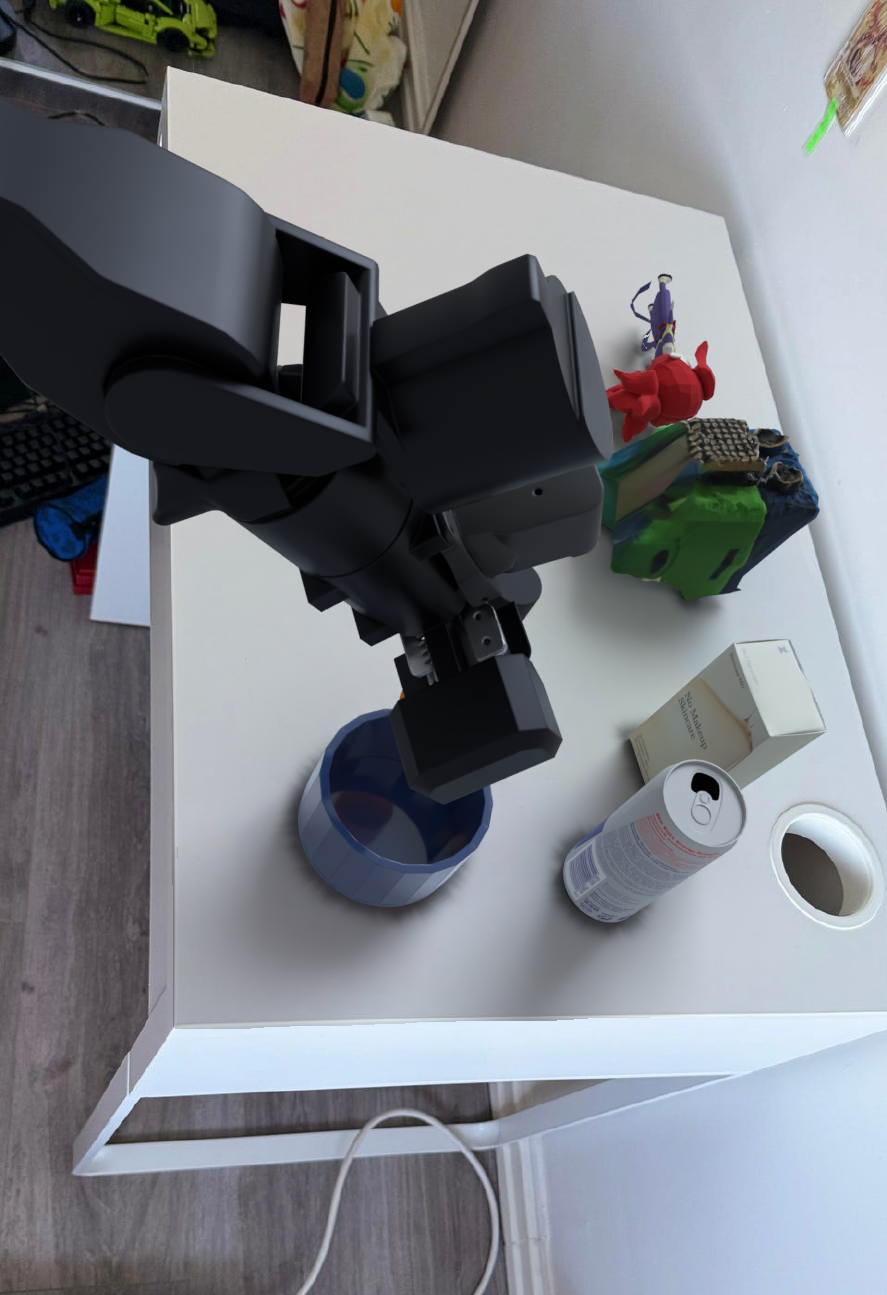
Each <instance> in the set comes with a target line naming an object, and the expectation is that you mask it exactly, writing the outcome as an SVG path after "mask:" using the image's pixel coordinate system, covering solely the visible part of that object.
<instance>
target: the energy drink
mask: <svg viewBox="0 0 887 1295" xmlns="http://www.w3.org/2000/svg"><path fill="white" fill-rule="evenodd" d="M748 814H749V812H748V806H747V801H746V799H745V795H744V794H743V792H742V790H740V788H739V786H738V785H737V783H736V782H735V781H734V779H733V778H732V777H731V776H730V775H729V774H728V773H727V772H725V771H724V770H723V769H721V768H720V767H718V766H716V765H714V764H712V763H710V762H707V761H704V760H697V759H693V760H686V761H683V762H680V763H677V764H674V765H670V766H669V767H667V768H665V769H664V770H662V771H661V772H660V773H659V774H658V775H657V776H655V777H654V778H653V779H652V780H651V781H650V782H648V783H647V784H646V785H645V784H644V786H642V787H641V788H640V789H639V790H638V791H637V792H635V794H633V795H632V796H631V797H629V799H628V800H626V801H625V802H624V803H623V804H621V805H620V806H619V807H618V808H617V809H616V810H614V811H613V812H612V813H611V814H610V815H609V816H607V818H605V819H604V820H603V821H602V822H600V824H599V825H597V826H596V827H595V828H594V829H592V830H591V831H590V832H589V833H587V835H585V836H584V837H583V838H582V839H580V840H579V842H578V843H576V844H575V845H574V846H573V847H572V848H571V849H570V850H569V852H568V853H567V855H566V856H565V859H564V863H563V868H562V869H563V870H562V876H563V883H564V887H565V889H566V890H565V891H567V894H568V896H569V898H570V899H571V901H572V902H573V904H574V905H575V906H576V907H577V908H578V909H579V911H582V912H583V913H584V914H585V915H587V916H588V917H590V918H592V919H594V920H596V921H600V922H603V923H619V922H622V921H624V920H627V919H629V918H630V917H632V916H634V914H636V913H638V912H640V911H641V910H642V909H644V908H645V907H647V906H648V905H650V904H651V903H653V902H654V901H656V900H658V899H659V898H660V897H662V896H663V895H665V894H666V893H668V892H670V891H671V890H672V889H674V888H676V887H677V886H678V885H680V884H681V883H683V882H685V881H686V880H687V879H689V878H690V877H692V876H693V875H695V874H697V873H698V872H699V871H701V870H702V869H704V868H706V867H707V866H709V865H710V864H711V863H712V862H714V861H716V860H717V859H719V858H721V857H722V856H724V855H725V854H726V853H728V852H729V851H731V850H732V849H733V848H734V847H735V845H736V844H738V841H739V839H740V838H741V836H742V835H743V834H744V832H745V831H746V828H747V823H748V818H749V817H748Z"/></svg>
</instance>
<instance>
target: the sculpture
mask: <svg viewBox="0 0 887 1295" xmlns="http://www.w3.org/2000/svg"><path fill="white" fill-rule="evenodd" d="M789 439H790V436H789V435H787V434H782V432H781V431H780V430H778V429H776V428H762V427H757V428H750V427H749V424H748V420H745V419H741V418H739V419H736V418H734V417H732V418H731V417H729V418H727V417H725V418H722V417H717V418H715V417H705V418H702V417H701V418H700V417H696V416H694V417H693V418H691V419H688V420H687V421H686V420H681V421H679V422H677V423H675V424H670V425H668V426H660V427H658V428H655V429H654V430H652V432H651V433H650V434H648V435H647V436H646V437H644V438H642V439H639V440H637V441H636V442H633V443H632V444H629V445H627V446H625V447H623V448H621V449H619V450H617V451H615V452H613V453H612V457H611V458H610V460H608V461H605V462H602V463H599V464H596V467H597V469H598V472H599V474H600V477H601V480H602V482H603V485H604V500H603V511H602V521H601V525H602V524H603V525H604V526H605V527H607V528H608V529H609V530H611V531H612V532H613V538H612V547H611V558H610V564H609V570H610V571H612V573H614V575H627V576H629V577H633V578H635V579H638V580H642V581H644V582H652V581H654V582H657V583H663V582H666V583H667V584H668V585H669V586H670V587H671V588H674V589H676V590H678V591H679V593H680V594H681V596H682V597H683V598H684V600H686V601H687V602H688V601H691V600H695V599H701V598H707V597H714V596H721V595H728V594H731V593H736V592H740V591H742V589H741V588H739V587H738V586H739V585H740V583H741V581H742V579H743V578H744V577H745V575H747V574H748V573H749V572H751V570H753V569H754V568H755V567H756V566H757V565H759V564H760V563H761V562H763V560H764V559H766V558H767V557H769V556H770V555H771V554H772V553H773V552H774V551H775V550H777V549H778V548H780V546H781V545H783V544H784V543H785V542H786V541H788V539H789V538H791V537H792V536H793V535H795V534H796V533H797V532H799V531H800V530H802V529H803V528H805V527H806V526H807V525H809V524H810V523H812V522H813V521H814V520H815V519H817V517H818V515H819V514H820V510H821V509H820V507H819V501H820V497H819V494H818V492H817V491H816V489H815V488H814V485H813V483H812V481H811V479H810V478H809V477H808V475H807V473H806V469H805V468H804V467H803V465H802V464H801V462H800V459H799V456H800V454H799V453H798V452H796V451H795V450H794V448H793V446H792V445H791V443H790V441H789Z"/></svg>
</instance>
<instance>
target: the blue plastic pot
mask: <svg viewBox="0 0 887 1295" xmlns="http://www.w3.org/2000/svg"><path fill="white" fill-rule="evenodd" d="M392 709H393V708H382V709H377V710H373V711H370V712H366V713H362V714H359V715H358V716H356V717H355V718H353V719H352V720H350V721H349V722H347V723H345V725H343V726H342V727H340V728H339V729H338V731H337V732H336V733H335V735H334V736H333V738H332V739H331V740H330V742H329V743H328V744H327V746H326V747H325V749H324V751H323V753H322V754H321V757H320V759H319V760H318V762H317V764H316V766H315V767H314V769H313V772H312V774H311V775H310V776H309V777H310V778H309V779H308V780H307V783H306V785H305V786H304V790H303V793H302V796H301V799H300V801H299V806H298V811H297V829H298V837H299V840H300V844H301V847H302V850H303V852H304V854H305V857H306V858H307V860H308V862H309V864H310V865H311V867H312V868H313V869H314V871H315V872H316V873H317V875H318V876H319V877H320V878H321V879H322V881H324V882H325V883H326V884H327V885H329V886H330V887H331V889H333V890H334V891H337V892H338V893H339V894H340V895H342V896H345V897H347V898H348V899H350V900H352V901H354V902H358V903H360V904H363V905H367V906H372V907H381V908H396V907H401V906H402V907H403V906H407V905H410V904H413V903H416V902H419V901H421V900H423V899H425V898H426V897H428V896H430V895H431V894H432V893H434V892H435V891H436V890H437V889H439V888H440V887H441V886H442V885H443V884H444V883H446V881H448V880H449V879H450V878H451V876H453V875H454V873H456V871H457V870H458V869H459V868H460V867H461V866H462V865H463V864H464V863H465V862H466V861H467V860H468V859H469V858H470V857H471V856H472V855H473V854H474V852H476V851H477V849H478V848H479V847H480V844H481V843H482V842H483V839H484V838H485V836H486V834H487V832H488V831H489V830H490V825H491V820H492V819H491V818H492V813H493V808H494V799H493V791H492V784H491V785H489V786H487V787H484V788H482V789H480V790H477V791H475V792H472V793H470V794H468V795H465V796H463V797H461V798H458V799H456V800H454V801H451V802H449V803H447V804H441V803H439V802H437V801H435V800H433V799H431V798H429V797H427V796H424V795H422V794H420V793H418V792H416V791H414V790H412V789H410V788H409V785H408V781H407V778H406V774H405V771H404V767H403V764H402V760H401V757H400V753H399V750H398V746H397V743H396V739H395V736H394V732H393V729H392V725H391V722H390V718H389V714H390V712H391V711H392Z"/></svg>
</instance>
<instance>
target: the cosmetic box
mask: <svg viewBox="0 0 887 1295" xmlns="http://www.w3.org/2000/svg"><path fill="white" fill-rule="evenodd" d="M798 656H799V655H798V654H797V651H796V649H795V647H794V644H793V641H792V639H791V638H790V637H782V638H781V637H780V638H763V639H749V640H740V641H739V640H738V641H734V642H732V643H731V644H730V645H729V647H727V648H726V649H725V650H724V651H723V652H721V654H719V655H718V656H717V657H716V658H714V659H713V660H712V661H711V662H710V663H709V664H708V665H707V666H706V667H705V668H703V669H702V670H701V671H700V672H699V673H698V674H696V675H695V676H694V677H693V678H692V679H691V680H689V681H688V682H687V683H686V684H685V685H684V686H683V687H682V688H681V689H680V690H679V691H677V692H676V693H675V694H674V695H673V696H672V697H671V698H669V699H668V700H667V701H666V702H665V703H664V704H663V705H662V706H660V707H659V708H658V709H657V710H656V711H655V712H653V714H652V715H650V716H649V717H648V718H647V719H645V721H643V723H642V724H640V725H638V727H637V728H636V729H635V730H634V731H633V732H631V733H630V734H629V739H630V743H631V746H632V748H633V752H634V755H635V757H636V761H637V764H638V766H639V770H640V773H641V776H642V779H643V782H644V786H645V785H646V784H647V783H648V782H650V781H651V780H652V779H653V778H654V777H655V776H657V775H658V774H659V773H660V772H661V771H662V770H664V769H665V768H667V767H669V766H670V765H674V764H677V763H680V762H683V761H686V760H693V759H697V760H704V761H707V762H710V763H712V764H714V765H716V766H718V767H720V768H721V769H723V770H724V771H725V772H727V773H728V774H729V775H730V776H731V777H732V778H733V779H734V781H735V782H736V783H737V785H738V786H739V788H740V790H741V791H742V790H744V788H745V789H746V787H747V786H749V785H750V784H752V783H754V782H755V781H756V780H757V779H759V778H761V777H762V776H764V775H765V774H766V773H768V772H769V771H771V770H772V769H774V768H775V767H777V766H778V765H780V764H781V763H782V762H784V761H785V760H788V758H790V757H791V756H793V755H794V754H796V753H798V752H799V751H800V750H802V749H803V748H804V747H806V746H808V745H809V744H810V743H812V742H813V741H815V740H816V739H817V738H820V737H821V736H823V735H824V734H825V733H827V732H828V726H827V724H826V721H825V718H824V717H823V714H822V711H821V710H820V706H819V704H818V701H817V699H816V696H815V694H814V691H813V688H812V686H811V684H810V682H809V679H808V677H807V675H806V672H805V670H804V667H803V666H802V663H801V661H800V659H799V657H798Z"/></svg>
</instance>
